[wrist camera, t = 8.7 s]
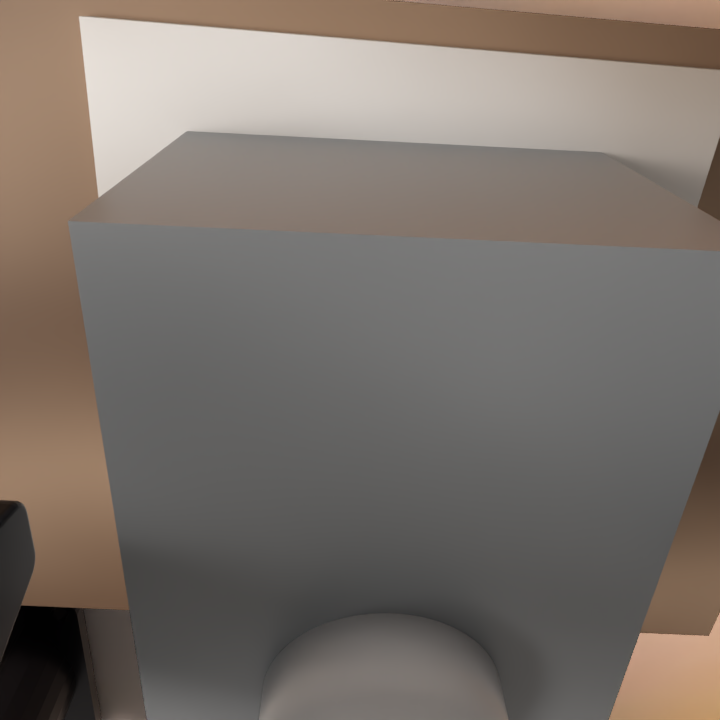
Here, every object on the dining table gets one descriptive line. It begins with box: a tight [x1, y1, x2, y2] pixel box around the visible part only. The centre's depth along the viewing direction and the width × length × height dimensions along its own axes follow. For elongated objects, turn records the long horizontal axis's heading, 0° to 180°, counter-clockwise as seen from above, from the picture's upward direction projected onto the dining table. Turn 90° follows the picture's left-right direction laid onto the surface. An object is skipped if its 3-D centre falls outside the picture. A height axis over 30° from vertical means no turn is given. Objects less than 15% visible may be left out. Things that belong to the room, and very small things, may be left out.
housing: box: [68, 131, 720, 720], centre depth 9 cm, size 6×8×6 cm
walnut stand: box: [0, 0, 720, 636], centre depth 13 cm, size 12×16×4 cm
